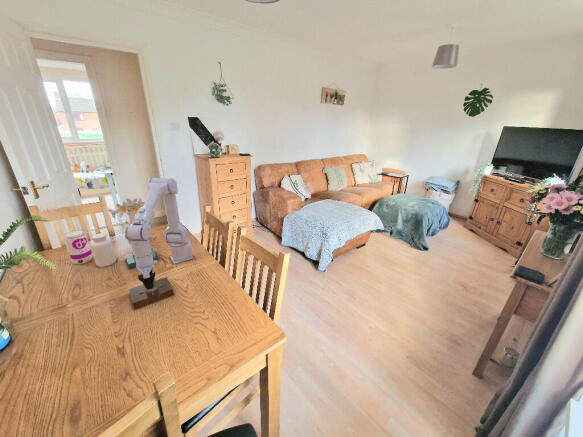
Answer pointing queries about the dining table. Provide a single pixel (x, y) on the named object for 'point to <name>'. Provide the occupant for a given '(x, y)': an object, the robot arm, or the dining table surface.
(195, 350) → the dining table surface
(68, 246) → the supplement can
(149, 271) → the robot arm
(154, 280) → the lock dial
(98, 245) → the pill bottle
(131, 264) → the push button box
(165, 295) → the lock panel
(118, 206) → the flower vase
